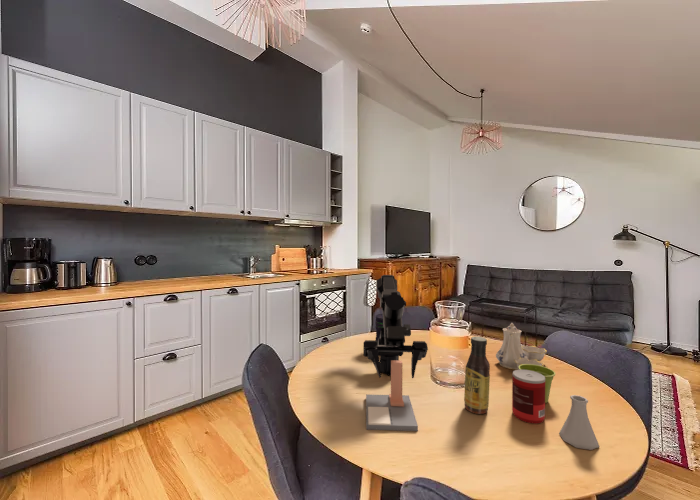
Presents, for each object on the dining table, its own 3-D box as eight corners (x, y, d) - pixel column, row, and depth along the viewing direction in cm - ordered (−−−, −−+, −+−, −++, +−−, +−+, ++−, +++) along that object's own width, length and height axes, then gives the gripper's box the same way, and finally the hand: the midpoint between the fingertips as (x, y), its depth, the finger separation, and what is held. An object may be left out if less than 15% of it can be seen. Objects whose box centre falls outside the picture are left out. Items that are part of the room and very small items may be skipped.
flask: (552, 432, 78) (553, 391, 77) (581, 431, 78) (581, 390, 78) (575, 451, 70) (576, 406, 70) (606, 450, 71) (607, 405, 71)
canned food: (541, 411, 88) (541, 371, 87) (548, 426, 80) (549, 383, 80) (510, 406, 90) (510, 367, 90) (514, 421, 82) (514, 378, 82)
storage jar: (399, 354, 133) (400, 318, 132) (376, 354, 133) (376, 318, 133) (396, 347, 143) (396, 313, 142) (374, 347, 143) (374, 313, 143)
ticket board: (417, 430, 78) (417, 424, 78) (366, 429, 79) (366, 422, 78) (408, 399, 94) (408, 394, 94) (366, 398, 94) (366, 393, 94)
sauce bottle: (459, 406, 90) (459, 336, 90) (476, 402, 92) (476, 333, 92) (477, 418, 84) (477, 342, 84) (494, 413, 86) (495, 339, 86)
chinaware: (546, 391, 104) (553, 340, 102) (490, 375, 112) (496, 328, 111) (543, 363, 128) (549, 322, 127) (498, 352, 136) (503, 313, 135)
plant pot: (524, 388, 101) (524, 361, 101) (558, 399, 95) (559, 369, 94) (513, 398, 95) (513, 369, 95) (550, 410, 88) (550, 378, 88)
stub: (404, 406, 87) (404, 365, 87) (390, 406, 87) (391, 365, 87) (401, 396, 93) (401, 358, 93) (389, 395, 93) (389, 357, 93)
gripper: (363, 313, 96) (363, 364, 85) (426, 314, 95) (434, 365, 84) (363, 332, 104) (363, 381, 93) (421, 333, 103) (428, 382, 92)
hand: (396, 377), depth 90 cm, fingers open, 9 cm apart
